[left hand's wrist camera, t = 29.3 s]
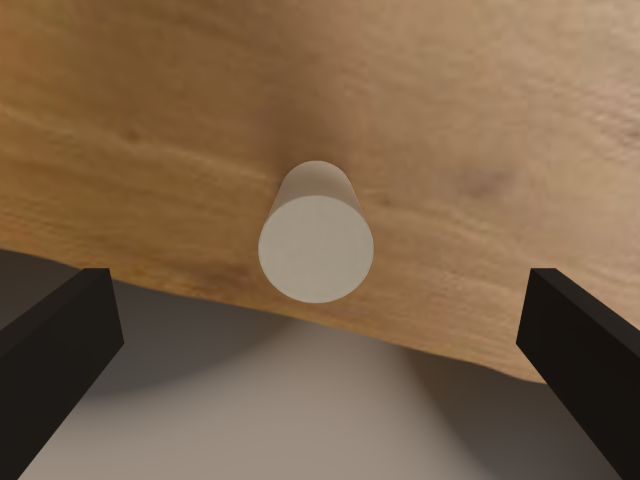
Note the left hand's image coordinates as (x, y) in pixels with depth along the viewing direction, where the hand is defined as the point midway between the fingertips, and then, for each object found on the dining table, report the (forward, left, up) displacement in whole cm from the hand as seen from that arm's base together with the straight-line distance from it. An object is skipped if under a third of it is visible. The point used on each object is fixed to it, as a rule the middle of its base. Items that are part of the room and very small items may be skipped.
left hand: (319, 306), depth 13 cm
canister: (0, 0, -17) cm, 17 cm away
